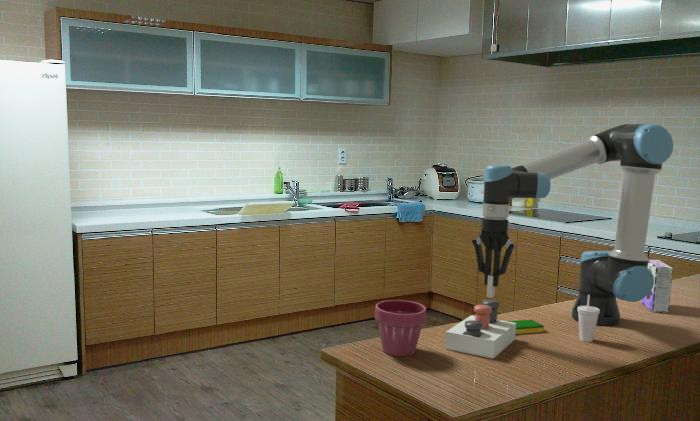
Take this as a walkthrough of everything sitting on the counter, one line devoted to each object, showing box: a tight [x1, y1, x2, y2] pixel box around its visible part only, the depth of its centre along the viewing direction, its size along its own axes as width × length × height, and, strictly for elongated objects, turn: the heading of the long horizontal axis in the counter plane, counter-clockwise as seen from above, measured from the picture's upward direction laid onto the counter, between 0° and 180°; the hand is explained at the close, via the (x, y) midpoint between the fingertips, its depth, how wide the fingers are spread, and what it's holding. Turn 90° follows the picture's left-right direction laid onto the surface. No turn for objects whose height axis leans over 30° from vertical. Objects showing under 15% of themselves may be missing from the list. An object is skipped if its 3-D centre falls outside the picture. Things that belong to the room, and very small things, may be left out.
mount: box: [444, 314, 517, 360], centre depth 187 cm, size 14×20×5 cm
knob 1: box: [465, 320, 483, 337], centre depth 181 cm, size 5×5×6 cm
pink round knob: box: [473, 304, 492, 329], centre depth 186 cm, size 5×5×6 cm
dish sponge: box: [507, 319, 545, 335], centre depth 202 cm, size 7×14×2 cm, turn 107°
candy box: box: [640, 259, 674, 313], centre depth 231 cm, size 14×6×16 cm, turn 172°
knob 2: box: [481, 299, 501, 323], centre depth 192 cm, size 5×5×6 cm
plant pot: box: [374, 299, 427, 357], centre depth 179 cm, size 14×14×13 cm
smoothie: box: [577, 294, 600, 343], centre depth 192 cm, size 6×6×14 cm
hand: (490, 296), depth 191 cm, fingers closed
